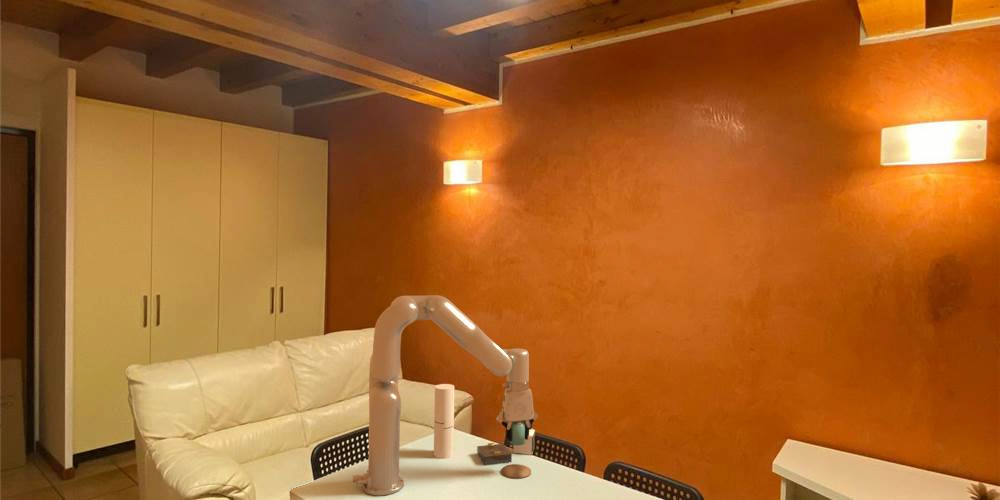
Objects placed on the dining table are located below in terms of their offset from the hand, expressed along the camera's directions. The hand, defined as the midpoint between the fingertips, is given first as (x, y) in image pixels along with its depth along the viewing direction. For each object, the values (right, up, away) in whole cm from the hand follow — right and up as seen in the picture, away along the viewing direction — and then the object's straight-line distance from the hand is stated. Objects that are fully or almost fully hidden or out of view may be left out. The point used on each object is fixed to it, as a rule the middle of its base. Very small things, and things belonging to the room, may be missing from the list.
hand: (517, 438), depth 170 cm
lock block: (-8, -11, +11) cm, 18 cm away
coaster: (0, -11, 0) cm, 11 cm away
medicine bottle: (+3, -12, +19) cm, 22 cm away
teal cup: (0, -1, 0) cm, 1 cm away
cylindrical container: (-27, -11, +14) cm, 32 cm away
